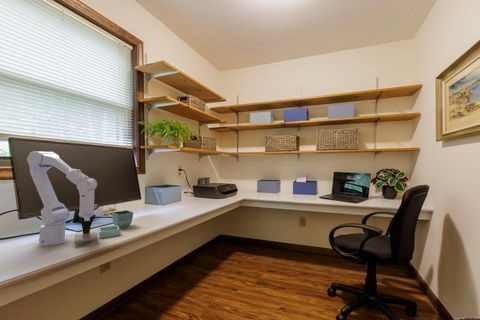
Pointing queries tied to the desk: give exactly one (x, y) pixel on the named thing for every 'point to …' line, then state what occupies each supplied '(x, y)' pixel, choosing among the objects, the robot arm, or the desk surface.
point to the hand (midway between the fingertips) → (86, 232)
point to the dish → (108, 231)
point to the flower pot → (122, 218)
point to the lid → (85, 237)
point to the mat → (85, 243)
